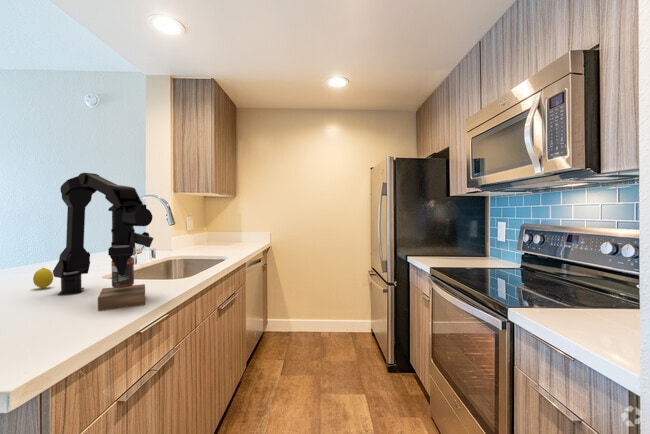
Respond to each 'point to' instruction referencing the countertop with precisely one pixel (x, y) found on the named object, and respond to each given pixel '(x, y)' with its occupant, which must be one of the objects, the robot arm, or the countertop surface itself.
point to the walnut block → (121, 297)
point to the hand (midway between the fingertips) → (123, 273)
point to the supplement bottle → (123, 280)
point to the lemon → (43, 278)
